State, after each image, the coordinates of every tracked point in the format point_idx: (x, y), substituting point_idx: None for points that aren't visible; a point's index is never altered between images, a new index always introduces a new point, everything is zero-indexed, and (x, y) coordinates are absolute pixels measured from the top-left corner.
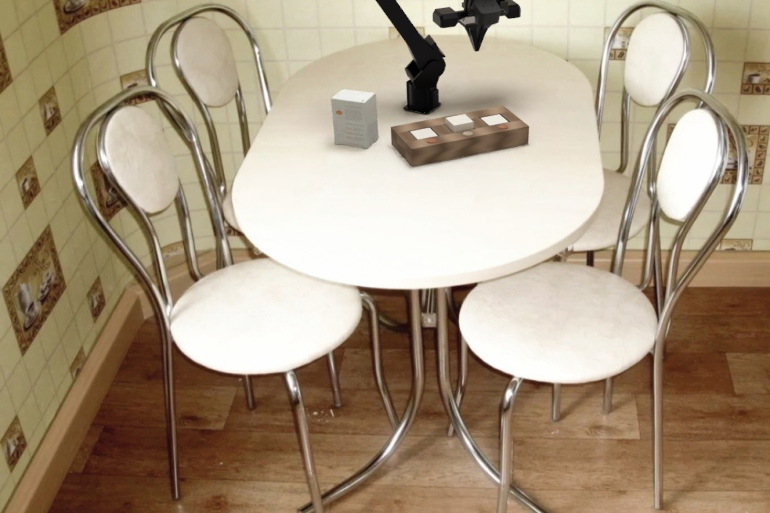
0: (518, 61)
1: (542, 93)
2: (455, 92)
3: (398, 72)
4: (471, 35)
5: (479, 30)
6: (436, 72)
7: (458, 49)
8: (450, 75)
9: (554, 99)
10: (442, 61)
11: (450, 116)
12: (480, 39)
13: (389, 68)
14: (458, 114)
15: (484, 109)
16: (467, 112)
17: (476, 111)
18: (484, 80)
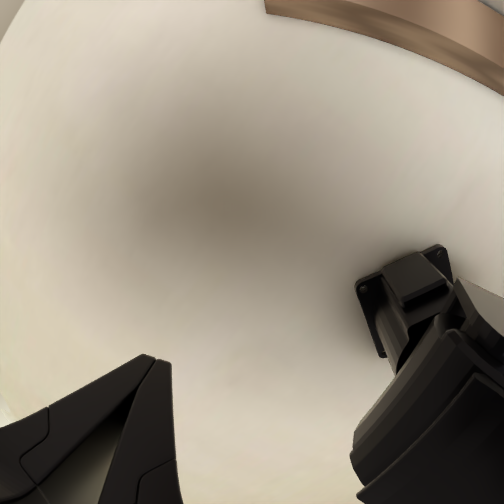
0: (20, 364)
1: (27, 163)
2: (242, 337)
3: (283, 479)
4: (182, 502)
5: (56, 496)
6: (491, 312)
7: None
8: (186, 420)
9: (26, 105)
10: (482, 352)
11: (502, 60)
12: (89, 412)
13: (284, 493)
14: (474, 47)
15: (361, 2)
16: (438, 31)
17: (402, 12)
18: (118, 347)
